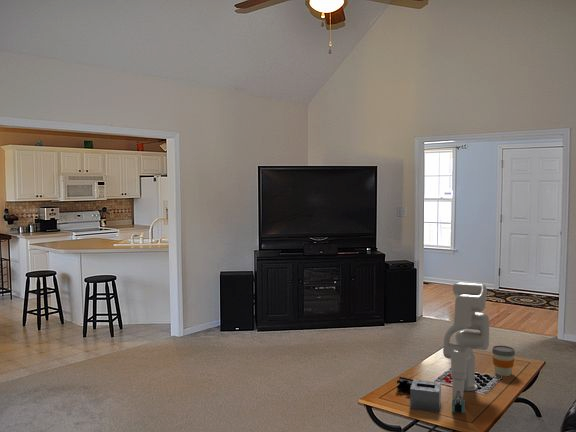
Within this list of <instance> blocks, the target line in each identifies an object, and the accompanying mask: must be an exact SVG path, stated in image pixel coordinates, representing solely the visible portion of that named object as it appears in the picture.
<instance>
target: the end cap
mask: <svg viewBox="0 0 576 432" xmlns="http://www.w3.org/2000/svg"><path fill="white" fill-rule="evenodd" d="M412 382H413V378H409V377H404V376H399V379H397V381H396V384H398V385H396V389H397V390H396V391H397V392H399V393H403V394H409V395H410V389H411V385H412Z"/></svg>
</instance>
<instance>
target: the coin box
mask: <svg viewBox="0 0 576 432" xmlns="http://www.w3.org/2000/svg"><path fill="white" fill-rule="evenodd" d="M412 379H413V378H412ZM441 386H442V383H441V382H439V381H430V380H429V381H428V380H422V379H413V382H412V385H411V389H410V394H409V395H410V396H409V398H410V401H409V403H410V405H409V406H410V408H409V409H413V410H420V411H426V412H427V411H428V412H435V413H440V408H441V403H442V400H441V399H442V397H441V396H442V395H441V394H442V392H441V391H442V390H441V389H442V387H441Z"/></svg>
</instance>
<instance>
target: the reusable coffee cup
mask: <svg viewBox="0 0 576 432" xmlns="http://www.w3.org/2000/svg"><path fill="white" fill-rule="evenodd" d="M491 352H492V362H493V366H494V373H495V375H499V376H502V377H509V376H511V375H512V371H513V368H514V363H515V356H516V353H515V352H516V351H515V348H513V347H511V346H507V345H494V346H492V350H491Z"/></svg>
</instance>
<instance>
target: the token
mask: <svg viewBox="0 0 576 432" xmlns="http://www.w3.org/2000/svg"><path fill="white" fill-rule="evenodd" d="M461 405H462V413H461V414H465V412H466V410H465V409H466V407H465V406H466V399H462V400H461ZM451 412H453V413H456V412H455V399H453V398H451Z"/></svg>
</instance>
